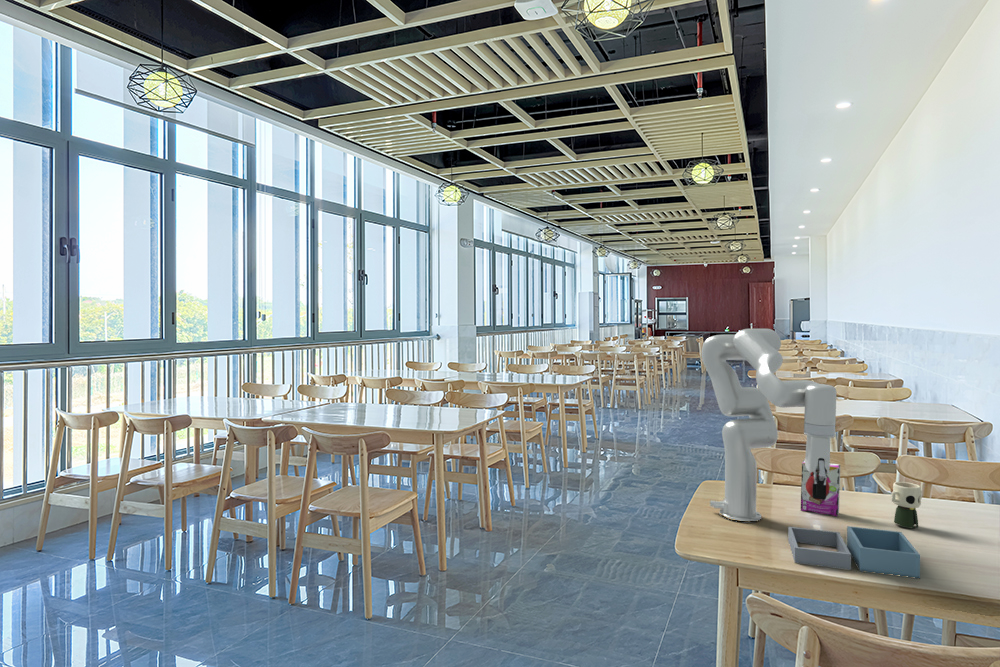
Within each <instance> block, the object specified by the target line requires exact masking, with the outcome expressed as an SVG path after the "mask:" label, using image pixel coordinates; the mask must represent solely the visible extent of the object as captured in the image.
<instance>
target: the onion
mask: <svg viewBox="0 0 1000 667" xmlns="http://www.w3.org/2000/svg"><path fill="white" fill-rule="evenodd" d="M817 472H819V471H817ZM817 476H819V475H817ZM813 483H814V475H813V476H811V477H810V478H809V479H808V480H807V482H806V490H807V492H808V493H809V495H810V496H811V497H812V490H813ZM829 489H830V486H829V483H828V481H827V480H826V496H827V494H828V493H829ZM815 500H820V499H815Z"/></svg>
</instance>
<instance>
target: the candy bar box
mask: <svg viewBox="0 0 1000 667" xmlns="http://www.w3.org/2000/svg"><path fill="white" fill-rule="evenodd" d="M809 477H811V476H810V472H809V471H808V470H807V468H806V466H805V459H803V461H802V462H801V484H800V485H801V486H800V488H801V489H800V491H801V492H800V511H802V512H808V513H812V514H813V513H814V514H819V515H827V516H832V517H839V513H840V490H841V488H840V487H841V486H840V484H841V464H838V463H830V468H829V473H828V474H826V480H827V481H828V483H829V486H830V489H829V493H828V494H827V496H826V499H825V500H822V499H820V500H815V499H814V498H813V497H811V496H810V495H809V493H808V492H807V490H806V482H807V480H808V479H809Z"/></svg>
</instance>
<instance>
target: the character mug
mask: <svg viewBox="0 0 1000 667" xmlns="http://www.w3.org/2000/svg"><path fill="white" fill-rule="evenodd" d="M922 491H923V490H922V487H921V486H920V485H919V484H916V483H912V482H906V481H895V482H893V485H892V491H891V502H893V504H894V505H896V508H895V512H894V520H893V523H894V524H896V525H899V526H900V527H901V528H907V529H915V528H916V529H918V528H919V518H918V511H917V508H920V506H921V505H922V501H921V500H922V499H923V498H922V496H923V492H922ZM914 527H915V528H914Z"/></svg>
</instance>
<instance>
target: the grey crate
mask: <svg viewBox="0 0 1000 667" xmlns="http://www.w3.org/2000/svg"><path fill="white" fill-rule="evenodd" d="M787 530H788V535H787V537H788V538H787V539H788V540H787V541H788V544H790V545H789V547H791V548H790V551H792V552H791V554H793V555H792V558H793V561H794V563H796V564H800V565H801V564H802V565H808V566H809V565H811V566H816V565H819V566H818V567H824V566H825V567H826V568H834V569H841V570H842V569H843V570H848V571H851V570H852V556H851V553H850V552H849V550H848V548H847V543H846V542H845V541H844V539H843V537H842V535H841V534H840V532H839V531H831V530H821V529H812V528H804V527H802V528H801V527H796V526H788V529H787ZM799 542H800V544H810V545H818V546H827V547H833V548H836V550H837V551H832V550H826V549H825V550H824V549H819V548H810V547H801V546H800V547H799V545H798V543H799ZM825 567H824V568H825Z"/></svg>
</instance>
